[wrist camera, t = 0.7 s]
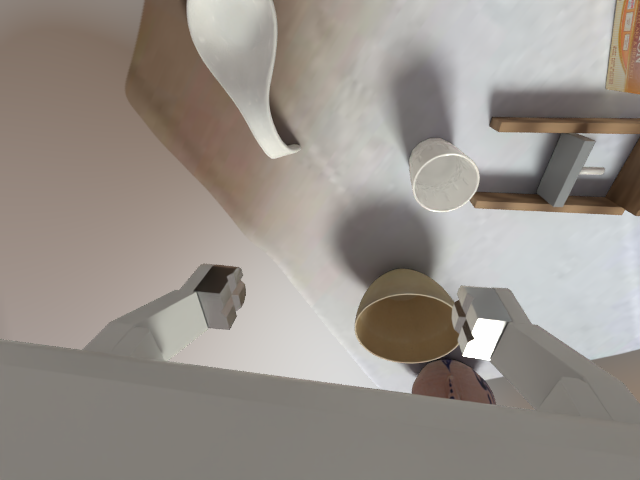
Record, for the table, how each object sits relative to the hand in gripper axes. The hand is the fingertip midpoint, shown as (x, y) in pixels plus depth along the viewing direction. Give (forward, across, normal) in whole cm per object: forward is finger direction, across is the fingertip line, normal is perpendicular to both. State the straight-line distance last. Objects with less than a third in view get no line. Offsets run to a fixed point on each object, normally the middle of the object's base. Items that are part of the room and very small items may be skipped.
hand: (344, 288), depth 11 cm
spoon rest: (+38, +15, -6) cm, 41 cm away
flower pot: (+38, -10, +32) cm, 51 cm away
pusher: (+37, -30, +6) cm, 48 cm away
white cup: (+38, -11, +6) cm, 40 cm away
